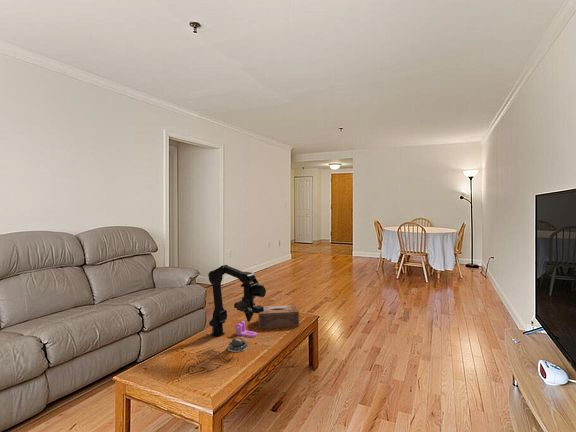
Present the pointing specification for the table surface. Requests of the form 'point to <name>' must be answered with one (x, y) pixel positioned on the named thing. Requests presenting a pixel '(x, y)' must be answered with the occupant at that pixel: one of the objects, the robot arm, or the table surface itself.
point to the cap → (237, 342)
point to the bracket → (244, 330)
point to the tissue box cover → (279, 317)
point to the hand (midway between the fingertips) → (248, 321)
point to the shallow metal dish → (237, 349)
